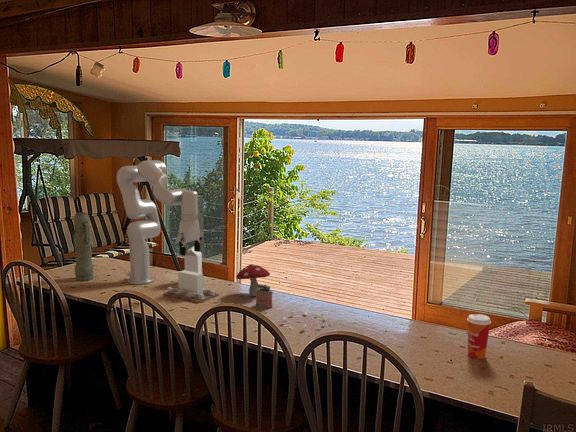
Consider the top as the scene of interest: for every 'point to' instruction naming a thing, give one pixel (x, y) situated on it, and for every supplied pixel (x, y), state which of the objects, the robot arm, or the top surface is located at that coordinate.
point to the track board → (190, 295)
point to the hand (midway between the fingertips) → (190, 253)
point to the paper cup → (478, 335)
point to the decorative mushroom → (252, 276)
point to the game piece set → (305, 324)
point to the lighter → (264, 296)
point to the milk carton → (193, 261)
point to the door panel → (190, 281)
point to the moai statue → (83, 247)
